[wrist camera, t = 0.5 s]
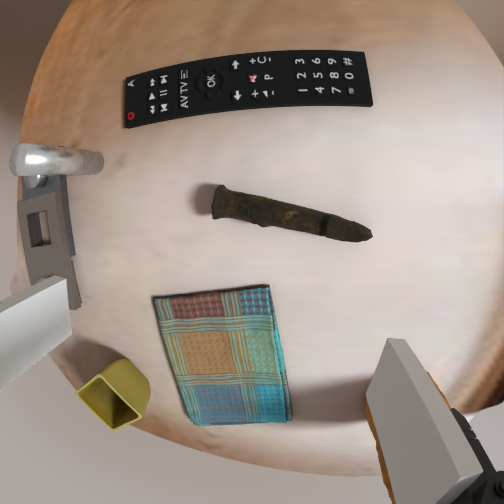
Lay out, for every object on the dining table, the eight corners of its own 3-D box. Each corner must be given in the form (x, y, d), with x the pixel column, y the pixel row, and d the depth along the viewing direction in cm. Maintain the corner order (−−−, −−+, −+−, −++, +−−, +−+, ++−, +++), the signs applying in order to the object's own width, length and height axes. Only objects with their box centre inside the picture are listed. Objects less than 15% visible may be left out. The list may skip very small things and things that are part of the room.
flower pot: (126, 343, 42) (98, 373, 33) (164, 383, 43) (142, 418, 34) (100, 365, 44) (73, 392, 35) (134, 400, 45) (113, 432, 36)
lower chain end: (27, 161, 38) (13, 161, 34) (64, 146, 36) (50, 145, 33) (37, 258, 41) (24, 263, 38) (75, 254, 40) (61, 259, 37)
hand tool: (214, 215, 37) (205, 219, 32) (222, 184, 36) (213, 184, 31) (360, 253, 36) (370, 263, 31) (369, 223, 35) (381, 228, 30)
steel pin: (84, 154, 36) (9, 148, 22) (103, 148, 36) (27, 138, 21) (86, 177, 37) (10, 179, 23) (104, 172, 37) (28, 171, 22)
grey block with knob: (29, 201, 39) (11, 203, 35) (67, 190, 38) (48, 192, 34) (47, 301, 43) (31, 310, 38) (86, 303, 42) (70, 313, 37)
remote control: (129, 81, 34) (122, 77, 32) (361, 56, 30) (364, 50, 28) (128, 129, 36) (121, 127, 34) (369, 108, 32) (374, 103, 30)
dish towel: (193, 418, 45) (189, 427, 42) (152, 295, 40) (145, 301, 38) (293, 415, 42) (293, 425, 40) (273, 281, 38) (272, 287, 35)
